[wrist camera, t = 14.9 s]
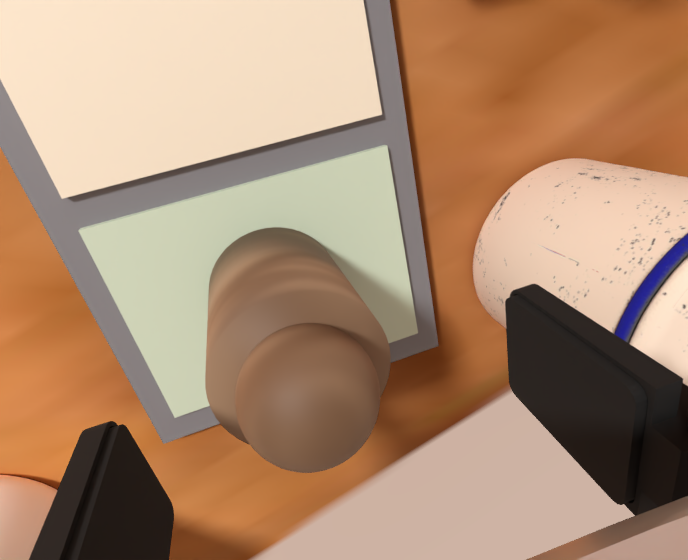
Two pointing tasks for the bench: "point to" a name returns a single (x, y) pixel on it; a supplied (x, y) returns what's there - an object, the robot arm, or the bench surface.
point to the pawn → (292, 352)
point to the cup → (22, 515)
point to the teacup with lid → (595, 250)
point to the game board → (210, 163)
